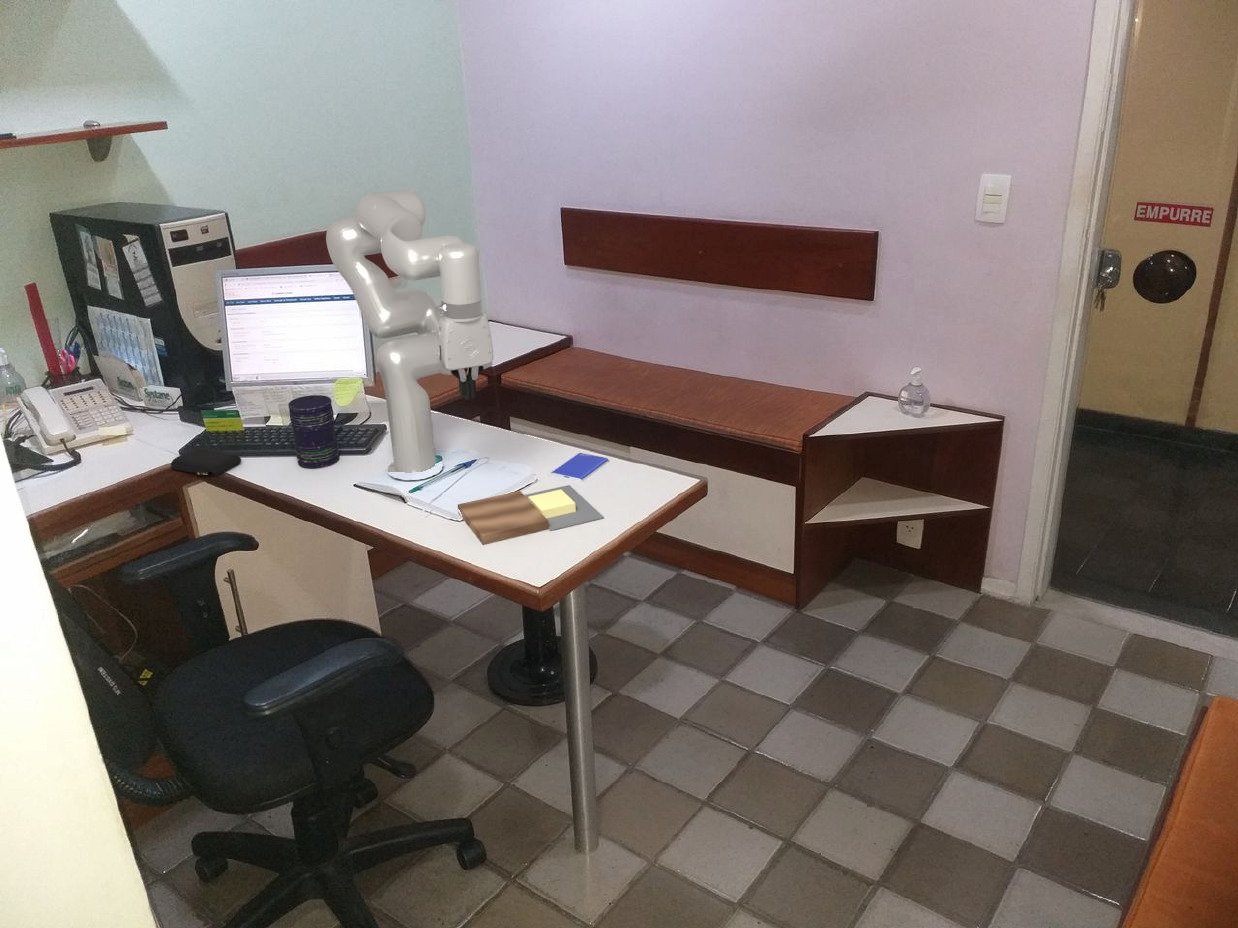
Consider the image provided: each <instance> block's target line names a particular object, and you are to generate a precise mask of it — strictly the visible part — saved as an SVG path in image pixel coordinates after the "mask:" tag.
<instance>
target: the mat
mask: <svg viewBox="0 0 1238 928" xmlns="http://www.w3.org/2000/svg"><path fill="white" fill-rule="evenodd" d="M556 490H562V491H563V492H564V493H565V494H566V495H568V496H569V497H570V498H571V499H572V500H573V501H574V502H575V506H576V512H572V513H567V514H563V515H559V516H555V517H550V518H546V519H547V520H548V526H549V529H548V530H549V531H550V532H552V531H558V530H561V529H567V528H569V527H570V528H571V527H574V526H578V525H579V526H580V525H582V524H586V523H590V522H595V521H600V520H603V519H605V516H604V515H602V513H600V512H599V511H598V510H597V509H596V508H595V507H594V506H593V505H592V504H591V503H590V502H589V501H588V500H586V499H585V497H583V496H582V495H581V494H580V493H578V492H577V491H576V490H575V488H573V486H571V485H570V484H567V485H563V486H558V487H554V488H550V489H546V490H545V489H544V490H541V491H536V492H532V493H527V494H524V496H525V497H526V498H527V499H528V497H529V496H533V495H538V494H543V493H547V492H552V491H556Z"/></svg>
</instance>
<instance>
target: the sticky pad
mask: <svg viewBox="0 0 1238 928" xmlns="http://www.w3.org/2000/svg"><path fill="white" fill-rule="evenodd" d="M528 500H529V501H530V502H531V503H532V504H533V505H534V506H535V507H536V508H537V509H538V510H539V511H540V512H541V513H542V514H543V516H544V517H545V518H550V517H555V516H559V515H563V514H567V513H572V512H576V506H575V502H574V501H573V500H572V499H571V498H570V497H569V496H568V495H566V494H565V493H564V492H563V491H562V490H556V491H552V492H547V493H543V494H538V495H533V496H529V497H528Z"/></svg>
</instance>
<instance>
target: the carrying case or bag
mask: <svg viewBox="0 0 1238 928" xmlns="http://www.w3.org/2000/svg"><path fill="white" fill-rule="evenodd" d="M241 462H242V458H241V456H240V455H238V454H236V453H232V452H226V451H222V450H221V451H220V450H215V449H207V448H203V447H202V448H201V447H198V448H197V447H196V448H193V449H191V450H189V451H187V452H184V453H183V454H181V455H178V456H177V457H175V458H173V460H172V461H171V462H170V467H171V468H172V469H173V470H174V471H178V472H182V473H183V472H185V473H190V474H196V475H197V476H208V477H219V476H221V475H223V474H225V473H227V472H229V471H231V470H232V469H235V468H236V467H238V466H239V465H240V463H241Z"/></svg>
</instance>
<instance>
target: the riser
mask: <svg viewBox="0 0 1238 928" xmlns="http://www.w3.org/2000/svg"><path fill="white" fill-rule="evenodd" d="M524 495H525V494H523V492H522V491H521V490H517V491H514V492H513V491H512V492H507V493H503V494H500V495H495V496H490V497H485V498H481V499H476V500H472V501H468V502H467V501H466V502H463V503H458V504H457V510H458V509H459V510H460V512H461V514H462V517H463V518H462V517H461V518H462V520H463V521H464V522H465V524H467V526H468V528H469V529H470V530H471V531H472V533H473V534H474V535H475V536H476V538H477V539H478V540H479V542H480V543H481V544H482V545H488V544H492V543H497V542H501V541H504V540H505V541H506V540H508V539H509V540H510V539H514V538H519V537H521V536H526V535H527V536H528V535H530V534H534V533H539V532H543V531H547V530H549V526H548V520H547V519H546V518H545V517H544V516H543V514H542V513H541V512H540V511H539V510H538V509H537V508H536V507H535V506H534V505H533V504H532V503H531V502H530V501H529V500H528V499H527V498H526V497H525V496H524Z"/></svg>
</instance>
